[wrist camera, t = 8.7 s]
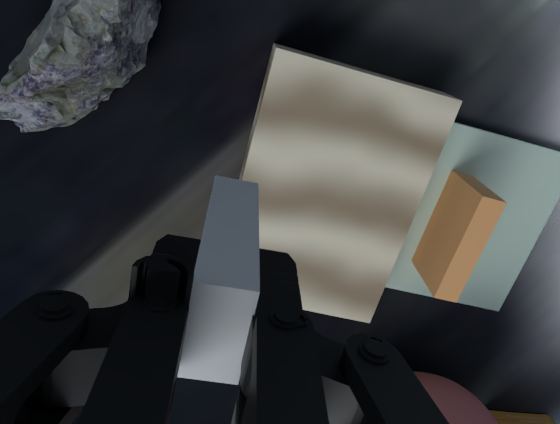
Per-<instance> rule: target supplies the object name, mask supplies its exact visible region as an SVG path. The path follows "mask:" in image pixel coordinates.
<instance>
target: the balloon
mask: <svg viewBox="0 0 560 424" xmlns="http://www.w3.org/2000/svg"><path fill="white" fill-rule="evenodd" d="M414 374H415V375H416V376H417V378H418V379H419V381H420V382H421V384H422V385H423V386H424V388H425V389H426V391H427V392H428V394H429V395H430V397H431V398H432V399H433V401H434V402H435V404H436V405H437V407H438V408H439V409H440V411H441V412H442V414H443V415H444V417H445V418H446V419H447V421H448V422H449V424H498V423H497V421H496V420H495V418H494V417H493V415H492V414H491V413H490V411H489V410H488V409H487V408H486V407H485V405H484V404H483V403H482V402H481V401H480V400H479V399H478V398H477V397H475V396H474V395H473V394H472V393H471V392H469V391H468V390H467V389H465V388H464V387H462V386H461V385H459V384H457V383H455V382H454V381H452V380H449V379H447V378H445V377H442V376H439V375H435V374H431V373H426V372H414Z"/></svg>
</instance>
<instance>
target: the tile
mask: <svg viewBox="0 0 560 424" xmlns="http://www.w3.org/2000/svg"><path fill="white" fill-rule="evenodd" d="M506 204H507V202H505V201H504V200H503V199H502V198H500V197H499V196H498V195H497V194H495V193H494V192H493V191H491V190H490V189H489V188H488V187H486V186H485V185H484V184H483V183H481V182H480V181H479V180H477V179H476V178H475V177H474V176H471V175H468V174H464V173H461V172H457V171H453V170H451V172H450V175H449V177H448V179H447V181H446V184H445V186H444V188H443V190H442V192H441V195H440V197H439V199H438V201H437V204H436V206H435V208H434V210H433V213H432V215H431V217H430V219H429V222H428V224H427V226H426V228H425V231H424V233H423V235H422V237H421V240H420V242H419V244H418V246H417V248H416V251H415V253H414V255H413V257H412V260H411V261H412V263H413V265H414V266H415V268H416V270H417V271H418V273H419V274H420V276H421V278H422V279H423V281H424V282H425V284H426V286H427V287H428V289H429V291H430V292H431V294H432V295H433V297H434V298H438V299H442V300H446V301H451V302H455V303H457V301H458V299H459V297H460V295H461V293H462V291H463V289H464V287H465V285H466V283H467V281H468V279H469V277H470V275H471V273H472V271H473V269H474V267H475V265H476V263H477V261H478V259H479V257H480V255H481V253H482V251H483V249H484V247H485V245H486V243H487V241H488V239H489V237H490V236H491V234H492V232H493V230H494V228H495V226H496V224H497V222H498V220H499V218H500V216H501V214H502V212H503V210H504V208H505V206H506Z"/></svg>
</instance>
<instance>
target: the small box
mask: <svg viewBox="0 0 560 424" xmlns="http://www.w3.org/2000/svg"><path fill="white" fill-rule="evenodd" d="M489 411H490V413H491V414H492V415H493V417H494V418H495V420H496V421H497V423H498V424H555V423H554V421H553V420H552V419H551V417H550V416H549V415H548V414H528V413H515V412H504V411H492V410H489Z"/></svg>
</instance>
